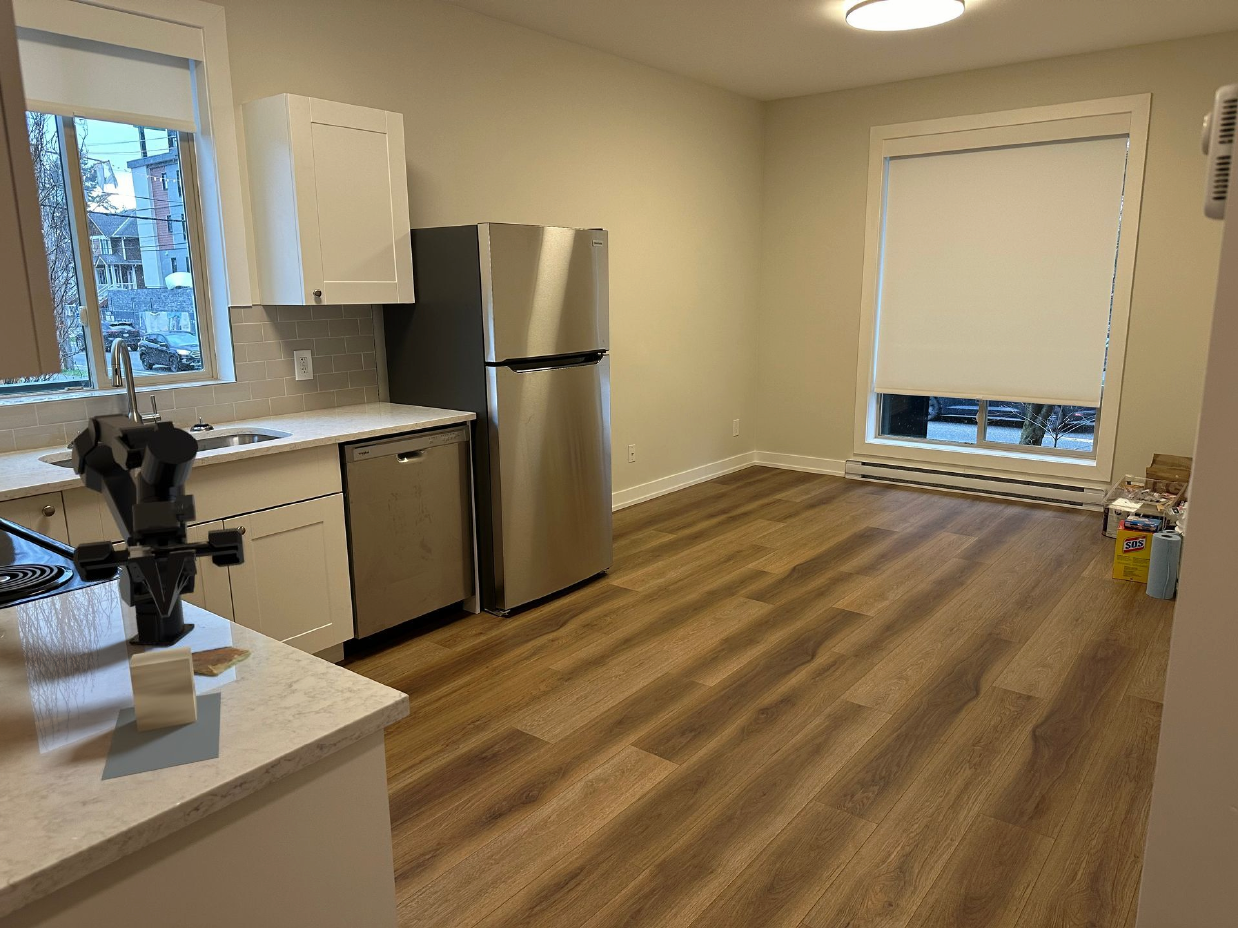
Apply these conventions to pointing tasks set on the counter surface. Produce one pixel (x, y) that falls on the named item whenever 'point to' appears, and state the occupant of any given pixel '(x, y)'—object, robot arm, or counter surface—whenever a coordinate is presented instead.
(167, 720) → the beige block
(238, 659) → the shard
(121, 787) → the counter surface
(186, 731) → the rubber mat
